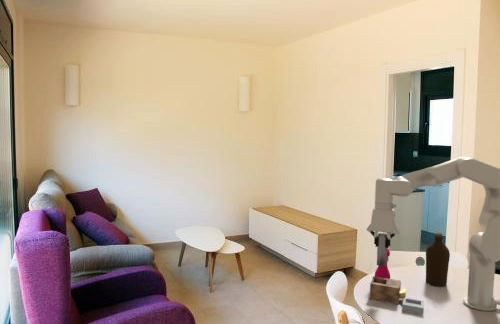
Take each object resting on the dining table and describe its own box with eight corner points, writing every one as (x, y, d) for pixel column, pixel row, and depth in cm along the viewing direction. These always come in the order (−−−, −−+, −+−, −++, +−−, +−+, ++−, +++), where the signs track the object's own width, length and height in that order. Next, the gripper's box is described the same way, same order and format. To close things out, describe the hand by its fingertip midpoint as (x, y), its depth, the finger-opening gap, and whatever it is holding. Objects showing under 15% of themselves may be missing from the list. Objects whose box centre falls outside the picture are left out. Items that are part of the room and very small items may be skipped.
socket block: (400, 295, 184) (400, 280, 183) (398, 304, 175) (399, 288, 174) (372, 290, 189) (373, 276, 188) (369, 298, 180) (370, 283, 179)
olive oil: (441, 289, 192) (444, 237, 190) (420, 282, 200) (422, 232, 198) (451, 284, 199) (454, 234, 196) (430, 277, 207) (433, 229, 205)
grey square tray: (423, 306, 172) (423, 300, 172) (423, 314, 165) (423, 308, 165) (403, 303, 176) (403, 297, 175) (402, 310, 168) (402, 304, 168)
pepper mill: (372, 285, 195) (374, 245, 193) (375, 280, 201) (377, 241, 200) (388, 288, 192) (390, 247, 190) (391, 283, 198) (392, 243, 196)
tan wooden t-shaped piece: (405, 297, 180) (405, 289, 180) (404, 301, 176) (405, 292, 176) (388, 294, 183) (388, 286, 183) (387, 298, 179) (387, 289, 179)
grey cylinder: (386, 264, 182) (387, 233, 181) (385, 266, 179) (386, 235, 177) (377, 262, 184) (378, 232, 183) (376, 265, 180) (377, 234, 179)
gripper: (404, 206, 179) (402, 247, 181) (365, 203, 186) (364, 242, 187) (403, 209, 172) (401, 251, 174) (362, 206, 179) (361, 246, 181)
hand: (382, 246), depth 181 cm, fingers closed on grey cylinder, 4 cm apart
